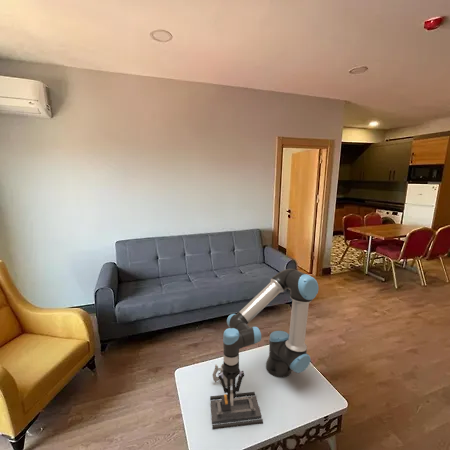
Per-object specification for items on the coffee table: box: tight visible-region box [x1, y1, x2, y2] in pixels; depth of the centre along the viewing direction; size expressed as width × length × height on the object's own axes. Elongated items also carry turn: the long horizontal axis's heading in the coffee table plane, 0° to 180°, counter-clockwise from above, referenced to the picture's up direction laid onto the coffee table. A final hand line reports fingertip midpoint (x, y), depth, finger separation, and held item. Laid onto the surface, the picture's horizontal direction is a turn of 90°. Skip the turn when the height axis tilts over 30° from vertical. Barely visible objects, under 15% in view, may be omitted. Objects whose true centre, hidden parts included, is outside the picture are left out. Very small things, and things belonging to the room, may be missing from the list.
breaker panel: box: [210, 395, 263, 425], centre depth 130 cm, size 24×12×3 cm, turn 97°
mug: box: [212, 363, 232, 388], centre depth 147 cm, size 8×12×12 cm, turn 101°
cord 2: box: [211, 418, 264, 430], centre depth 122 cm, size 24×1×1 cm, turn 97°
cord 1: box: [209, 391, 256, 401], centre depth 138 cm, size 24×1×1 cm, turn 97°
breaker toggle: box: [220, 393, 231, 412], centre depth 129 cm, size 4×5×6 cm
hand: (231, 403), depth 129 cm, fingers closed
